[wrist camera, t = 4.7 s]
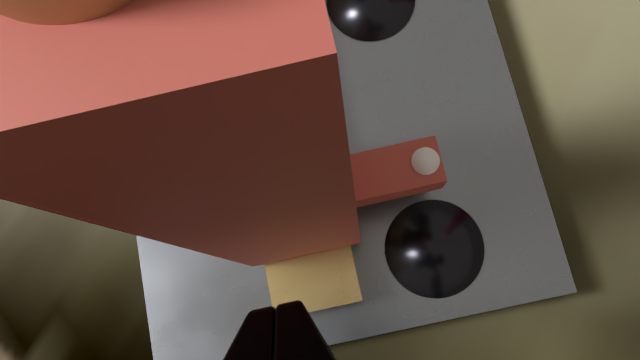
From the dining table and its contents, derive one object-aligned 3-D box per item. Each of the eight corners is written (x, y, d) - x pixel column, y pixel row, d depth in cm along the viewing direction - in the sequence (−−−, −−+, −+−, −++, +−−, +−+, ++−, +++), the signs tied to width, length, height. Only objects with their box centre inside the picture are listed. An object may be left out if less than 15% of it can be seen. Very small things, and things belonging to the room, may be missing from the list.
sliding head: (444, 227, 16) (892, -184, 2) (258, 268, 16) (-327, 110, 3) (418, 128, 16) (649, -647, 3) (240, 168, 17) (-302, -382, 3)
